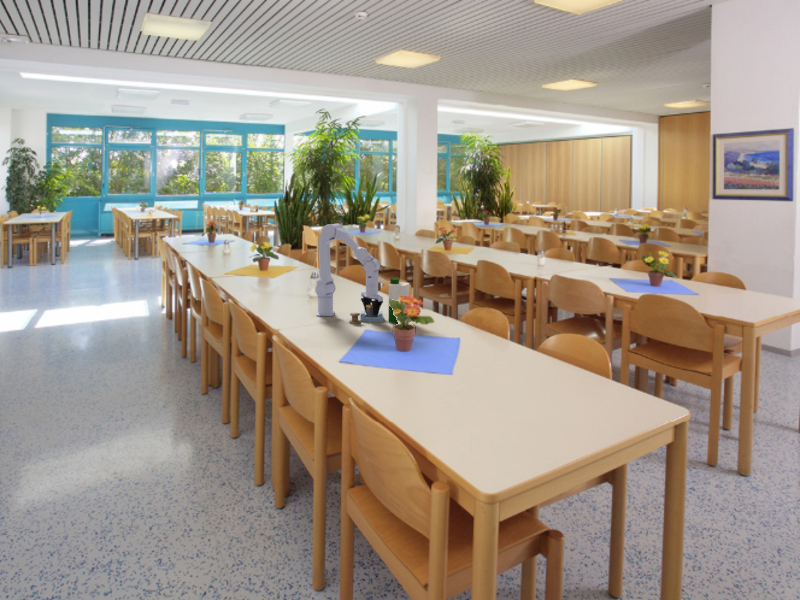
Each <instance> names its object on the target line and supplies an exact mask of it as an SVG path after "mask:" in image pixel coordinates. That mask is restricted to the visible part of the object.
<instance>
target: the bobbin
mask: <svg viewBox="0 0 800 600" xmlns="http://www.w3.org/2000/svg"><path fill="white" fill-rule="evenodd" d="M349 315H350V316H351V319H349V321H348V323H349V324H352V325H358V324H361V323H362V322H361V321H360V319H359V316H361V312H350V313H349Z"/></svg>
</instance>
